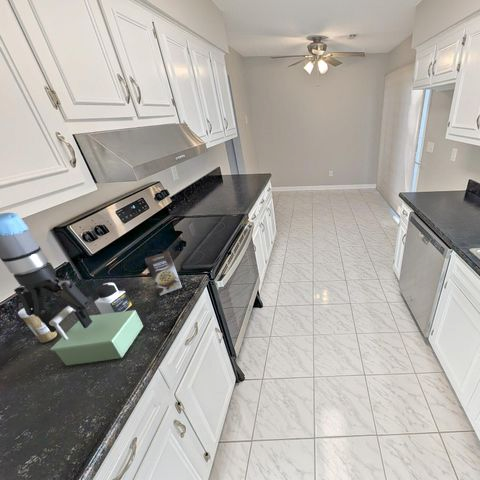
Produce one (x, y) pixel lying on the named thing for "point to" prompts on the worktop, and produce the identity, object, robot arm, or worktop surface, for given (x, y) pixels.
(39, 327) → the sprinkles bottle
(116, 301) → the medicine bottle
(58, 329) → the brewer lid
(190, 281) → the worktop surface
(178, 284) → the coffee box
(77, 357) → the green storage bin
